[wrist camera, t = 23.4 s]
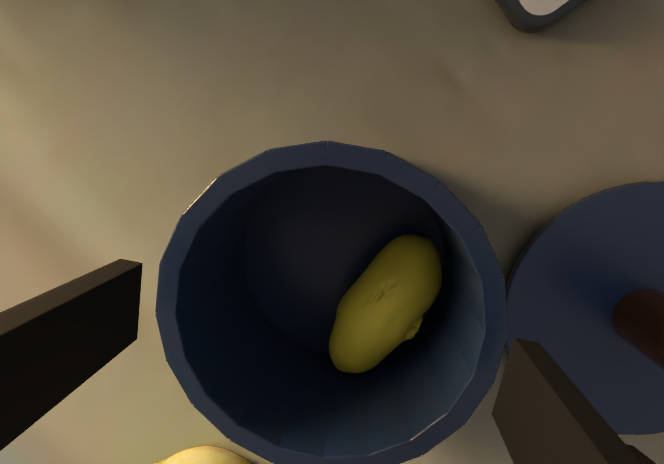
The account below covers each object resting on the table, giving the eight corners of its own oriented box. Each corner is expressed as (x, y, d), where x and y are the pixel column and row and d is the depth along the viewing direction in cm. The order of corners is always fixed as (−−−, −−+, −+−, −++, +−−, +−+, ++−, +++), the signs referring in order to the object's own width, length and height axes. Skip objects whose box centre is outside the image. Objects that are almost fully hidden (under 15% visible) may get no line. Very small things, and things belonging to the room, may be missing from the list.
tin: (247, 126, 22) (171, 113, 14) (482, 168, 21) (552, 180, 13) (221, 339, 25) (144, 435, 16) (429, 382, 24) (458, 506, 16)
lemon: (409, 227, 23) (469, 271, 21) (323, 339, 23) (375, 389, 22) (395, 212, 19) (466, 264, 17) (291, 347, 19) (352, 408, 18)
